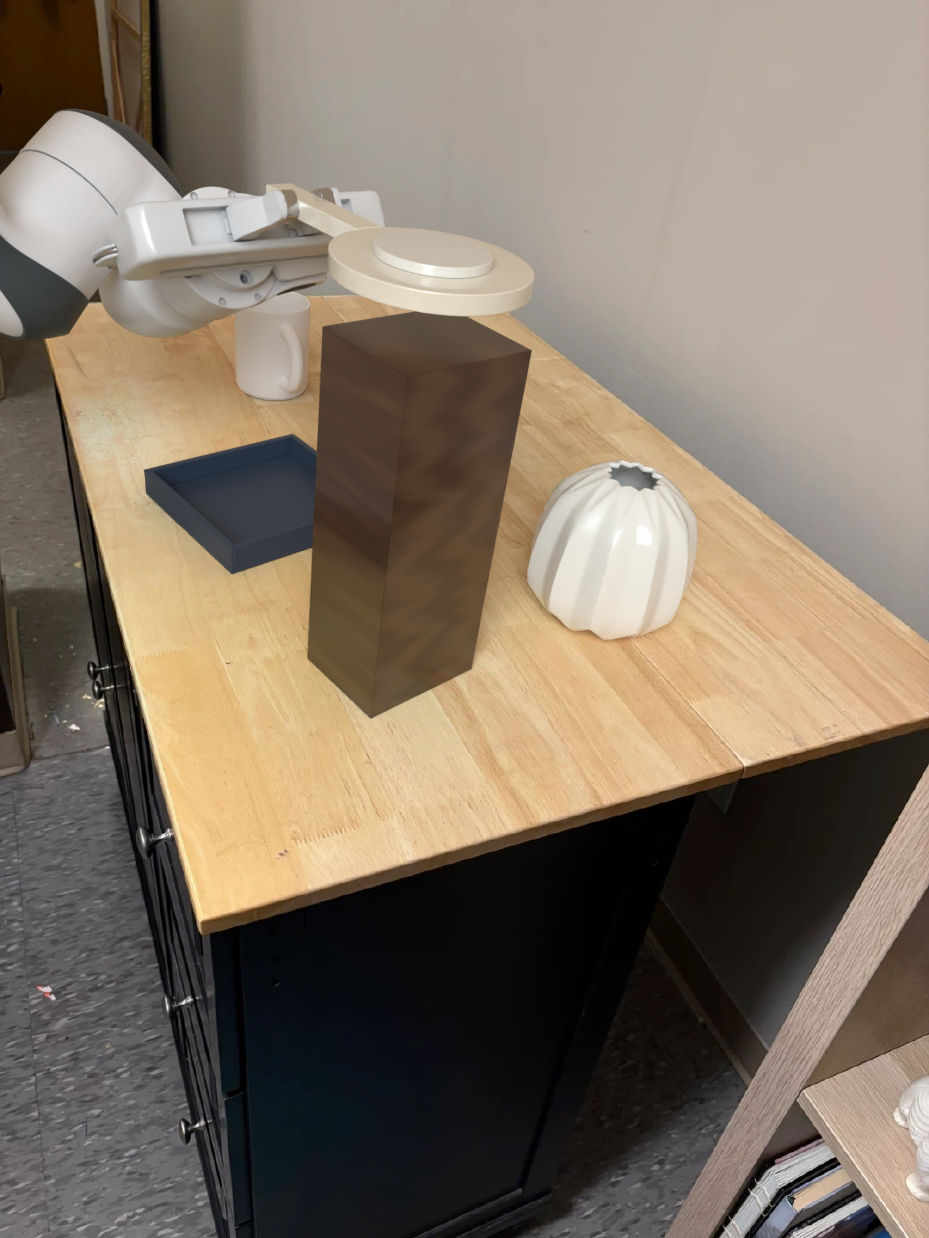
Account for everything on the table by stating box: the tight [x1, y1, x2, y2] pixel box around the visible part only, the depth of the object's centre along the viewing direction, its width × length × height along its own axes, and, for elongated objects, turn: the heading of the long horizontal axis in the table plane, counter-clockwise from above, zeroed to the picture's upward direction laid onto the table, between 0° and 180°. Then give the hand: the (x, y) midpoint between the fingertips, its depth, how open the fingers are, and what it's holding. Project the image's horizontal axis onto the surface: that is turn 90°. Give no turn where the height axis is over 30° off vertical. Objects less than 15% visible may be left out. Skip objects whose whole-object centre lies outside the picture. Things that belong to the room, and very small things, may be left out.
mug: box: [234, 291, 312, 402], centre depth 103 cm, size 12×8×10 cm
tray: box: [143, 433, 317, 575], centre depth 85 cm, size 16×15×3 cm
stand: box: [306, 311, 533, 719], centre depth 63 cm, size 10×8×26 cm
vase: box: [526, 459, 699, 641], centre depth 76 cm, size 14×14×13 cm
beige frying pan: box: [265, 182, 536, 317], centre depth 55 cm, size 12×22×2 cm, turn 42°
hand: (311, 201), depth 59 cm, fingers closed on beige frying pan, 2 cm apart
